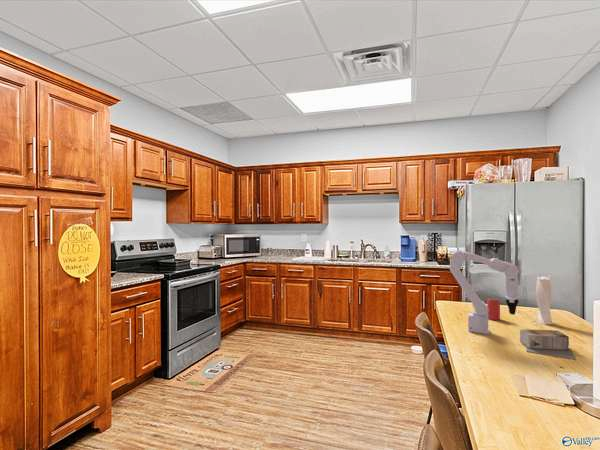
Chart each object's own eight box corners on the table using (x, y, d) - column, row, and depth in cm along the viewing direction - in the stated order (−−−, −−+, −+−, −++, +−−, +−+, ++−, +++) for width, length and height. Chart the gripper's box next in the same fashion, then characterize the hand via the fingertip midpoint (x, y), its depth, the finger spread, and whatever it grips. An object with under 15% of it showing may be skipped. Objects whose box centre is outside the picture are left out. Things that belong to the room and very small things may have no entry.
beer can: (498, 318, 205) (498, 297, 205) (501, 321, 199) (501, 300, 199) (486, 317, 207) (486, 297, 207) (488, 320, 201) (488, 299, 201)
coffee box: (519, 328, 163) (557, 330, 160) (519, 341, 163) (557, 343, 160) (529, 334, 154) (569, 336, 151) (529, 348, 154) (569, 350, 151)
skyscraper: (557, 325, 191) (557, 274, 191) (546, 326, 189) (546, 275, 189) (542, 320, 199) (542, 272, 199) (532, 322, 197) (531, 273, 197)
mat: (526, 351, 151) (526, 351, 151) (525, 342, 163) (525, 341, 163) (576, 359, 142) (576, 359, 142) (570, 349, 154) (570, 348, 154)
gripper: (521, 290, 166) (521, 318, 166) (520, 285, 179) (521, 311, 179) (504, 289, 170) (505, 316, 170) (504, 284, 182) (505, 310, 182)
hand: (512, 314), depth 175 cm, fingers closed
